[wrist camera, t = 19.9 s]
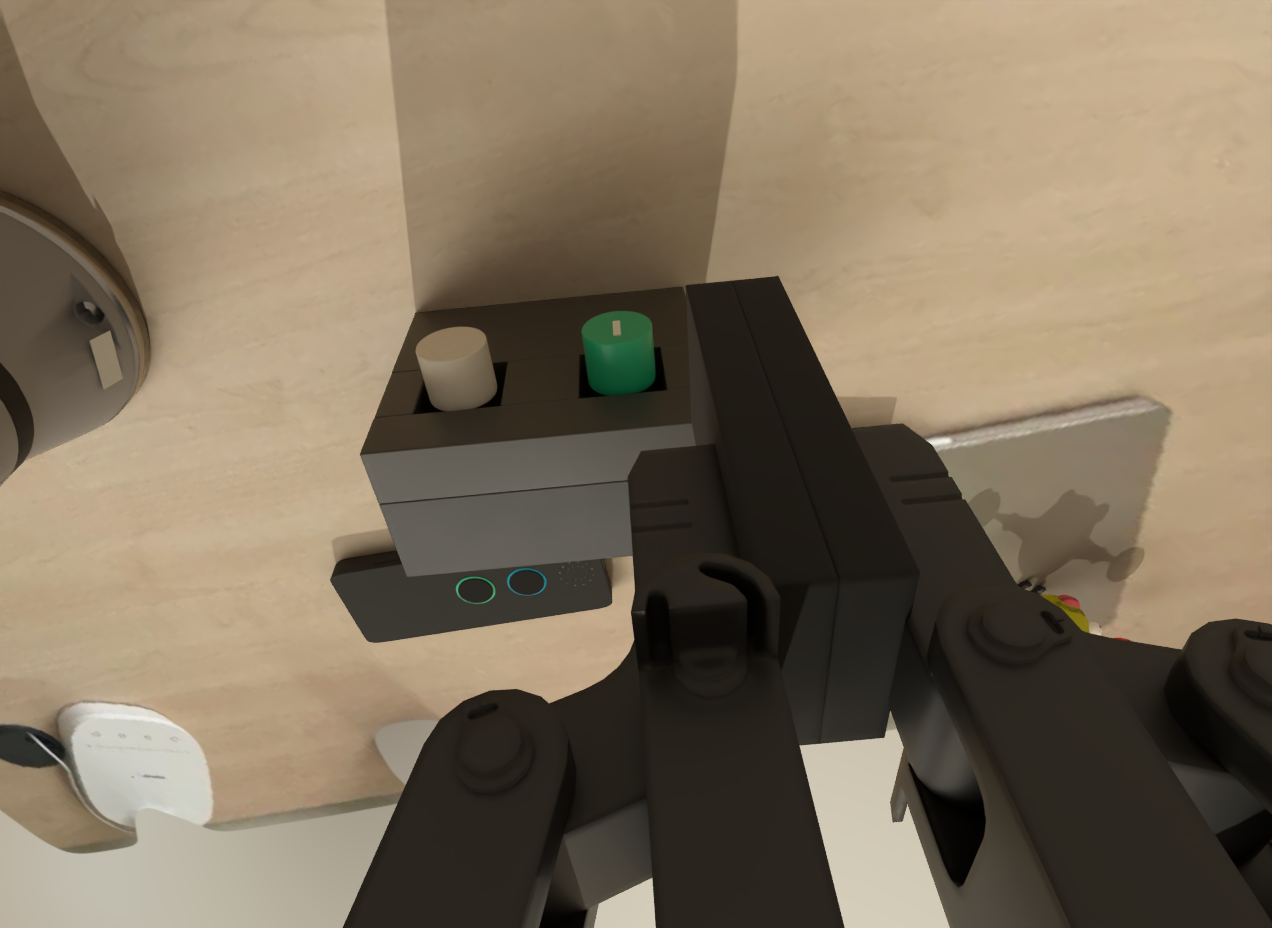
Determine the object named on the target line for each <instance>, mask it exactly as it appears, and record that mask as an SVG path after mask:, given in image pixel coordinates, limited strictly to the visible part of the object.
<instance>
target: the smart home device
mask: <svg viewBox="0 0 1272 928" xmlns="http://www.w3.org/2000/svg"><path fill="white" fill-rule="evenodd" d="M330 581H331V583H332V585H333V586H334V588H335V590H336V591H337V593H338V595H339V596H340V598H341V600H342V601H343V603H344V604H345V606H346V608H347V609H348V611H349V613H350V614H351V616H352V617H353V619H354V621H355V622H356V624H357V626H358V627H359V629H360V630H361V632H362V634H363V635H364V637H365V638H366V640H367V641H369V642H373V643H378V642H387V641H394V640H400V639H406V638H413V637H419V636H426V635H432V634H439V633H445V632H451V631H458V630H464V629H471V628H477V627H484V626H490V625H496V624H503V623H509V622H516V621H522V620H529V619H535V618H542V617H548V616H554V615H561V614H567V613H574V612H580V611H587V610H593V609H599V608H604V607H607V606H609V605H611V604H612V587H611V583H610V580H609V576H608V573H607V569H606V565H605V562H604V559H593V560H583V561H572V562H561V563H551V564H540V565H530V566H519V567H508V568H498V569H487V570H476V571H466V572H455V573H445V574H434V575H423V576H413V577H407V575H406V573H405V570H404V567H403V565H402V562H401V560H400V557H399V555H398V552H397V551H394V552H388V553H382V554H376V555H369V556H363V557H357V558H351V559H346V560H342V561H340V562H338V563H337V564H336V566H335V568H334V571H333V574H332V576H331V579H330Z"/></svg>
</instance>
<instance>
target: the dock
mask: <svg viewBox="0 0 1272 928" xmlns="http://www.w3.org/2000/svg"><path fill="white" fill-rule="evenodd" d="M614 311H631V312H636V313H640V314H642V315H644V316H646V317H647V318H649V319H650V321H651V323H652V331H653V344H654V357H655V371H656V377H655V380H654V382H653V384H652V385H651V386H650V387H648V388H647V389H645V390H644V391H641V392H639V393H633V394H622V395H612V396H607V395H603V394H600V393H598V392H596V391H595V390H593V389H592V388H591V386H590V385H589V382H588V374H587V367H586V360H585V353H584V346H583V339H582V328H583V326H584V324H585V323H586V322H587V321H588V320H590V319H591V318H593V317H595V316H598V315H601V314H604V313H608V312H614ZM452 327H472V328H476V329H478V330H480V331H482V332H483V333H484V334H485V336H486V338H487V343H488V347H489V352H490V356H491V360H492V365H493V369H494V373H495V378H496V382H497V392H496V394H495V396H494V397H493V398H492V399H491V400H490V401H488V402H487V403H485V404H484V405H482V406H480V407H477V408H475V409H466V410H456V411H442V410H439V409H437V408H435V407H434V406H433V405H432V404H431V402H430V399H429V395H428V392H427V389H426V385H425V382H424V379H423V375H422V372H421V368H420V365H419V362H418V358H417V355H416V347H417V345H418V343H419V342H420V341H421V340H422V339H423V338H425V337H426V336H428V335H430V334H432V333H434V332H437V331H439V330H443V329H447V328H452ZM688 446H696V443H695V438H694V433H693V428H692V419H691V396H690V373H689V349H688V326H687V303H686V297H685V293H684V289H683V287H676V288H666V289H655V290H645V291H635V292H625V293H614V294H604V295H594V296H583V297H573V298H563V299H553V300H542V301H532V302H522V303H512V304H501V305H491V306H481V307H471V308H460V309H450V310H440V311H430V312H419V313H415V316H414V318H413V321H412V323H411V326H410V328H409V331H408V333H407V336H406V338H405V341H404V343H403V346H402V348H401V351H400V354H399V356H398V359H397V361H396V364H395V366H394V369H393V371H392V375H391V377H390V380H389V382H388V385H387V387H386V390H385V392H384V395H383V397H382V400H381V403H380V405H379V408H378V410H377V413H376V415H375V419H374V420H373V422H372V425H371V427H370V430H369V432H368V435H367V438H366V440H365V443H364V445H363V448H362V450H361V453H360V456H361V459H362V461H363V464H364V466H365V469H366V471H367V474H368V477H369V479H370V482H371V484H372V487H373V490H374V492H375V495H376V497H377V500H378V503H379V505H380V508H381V510H382V513H383V516H384V518H385V521H386V523H387V526H388V529H389V531H390V534H391V536H392V539H393V542H394V544H395V547H396V549H397V552H398V555H399V557H400V560H401V562H402V565H403V567H404V570H405V573H406V575H407V577H413V576H423V575H434V574H445V573H455V572H466V571H476V570H487V569H498V568H508V567H519V566H530V565H540V564H551V563H561V562H572V561H583V560H593V559H604V558H615V557H625V556H633V551H632V536H631V534H632V533H631V521H630V505H629V491H628V475H629V473H630V471H631V469H632V467H633V465H634V463H635V462H636V460H637V458H638V456H639V454H640V452H641V451H646V450H656V449H667V448H677V447H688Z"/></svg>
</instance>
